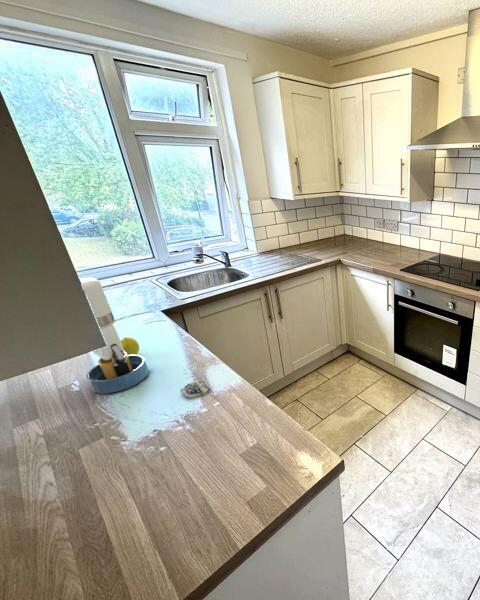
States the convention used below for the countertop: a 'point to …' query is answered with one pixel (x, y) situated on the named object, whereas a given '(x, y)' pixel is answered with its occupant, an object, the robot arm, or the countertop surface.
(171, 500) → the countertop surface
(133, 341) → the lemon
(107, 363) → the cup
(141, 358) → the bowl
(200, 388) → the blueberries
